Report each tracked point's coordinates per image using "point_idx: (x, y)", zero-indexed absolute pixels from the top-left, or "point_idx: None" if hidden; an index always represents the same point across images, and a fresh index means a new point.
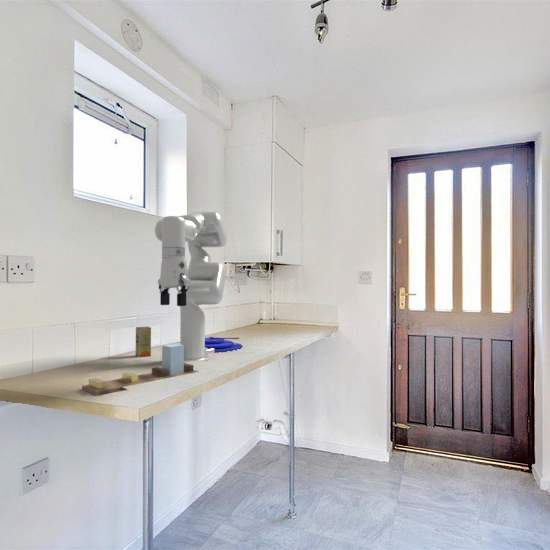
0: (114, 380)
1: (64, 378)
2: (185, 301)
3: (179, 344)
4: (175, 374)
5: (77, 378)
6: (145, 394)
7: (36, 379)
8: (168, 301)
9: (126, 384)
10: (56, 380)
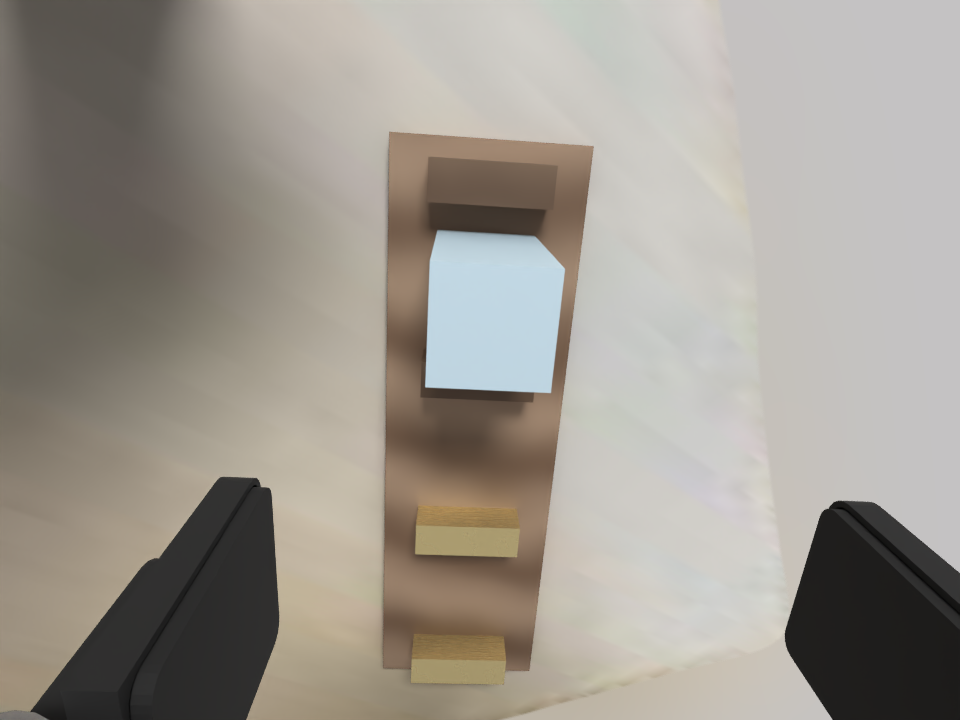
0: (402, 558)
1: None
2: (922, 565)
3: (497, 265)
4: None
5: None
6: (669, 549)
7: None
8: (250, 547)
9: (517, 560)
10: None
